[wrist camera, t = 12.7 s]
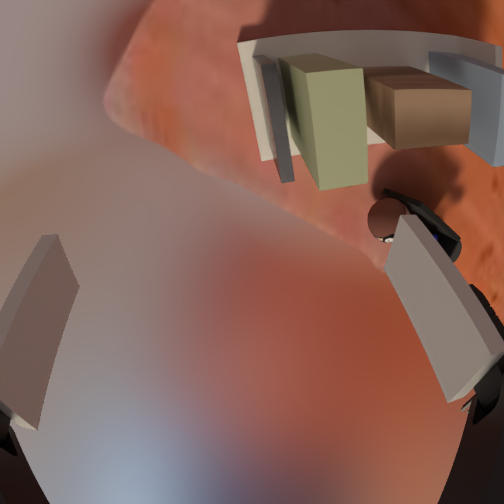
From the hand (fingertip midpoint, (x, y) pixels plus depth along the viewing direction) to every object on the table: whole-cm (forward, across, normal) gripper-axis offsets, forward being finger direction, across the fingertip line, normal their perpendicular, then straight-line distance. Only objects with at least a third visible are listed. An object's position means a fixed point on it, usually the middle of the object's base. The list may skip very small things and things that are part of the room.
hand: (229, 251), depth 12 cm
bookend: (+20, +4, +1) cm, 21 cm away
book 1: (+20, +7, +2) cm, 22 cm away
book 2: (+20, +15, +3) cm, 25 cm away
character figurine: (+22, +23, -13) cm, 34 cm away
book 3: (+20, +23, +4) cm, 30 cm away
